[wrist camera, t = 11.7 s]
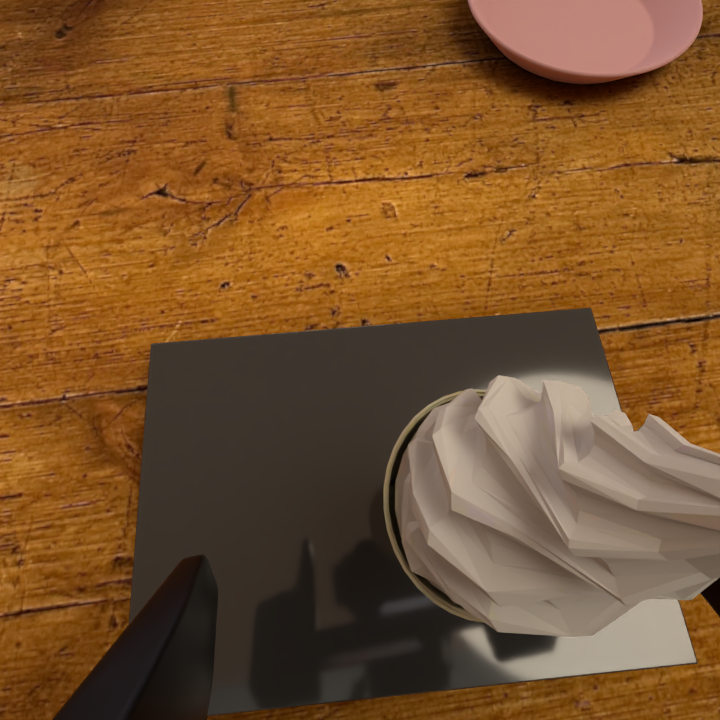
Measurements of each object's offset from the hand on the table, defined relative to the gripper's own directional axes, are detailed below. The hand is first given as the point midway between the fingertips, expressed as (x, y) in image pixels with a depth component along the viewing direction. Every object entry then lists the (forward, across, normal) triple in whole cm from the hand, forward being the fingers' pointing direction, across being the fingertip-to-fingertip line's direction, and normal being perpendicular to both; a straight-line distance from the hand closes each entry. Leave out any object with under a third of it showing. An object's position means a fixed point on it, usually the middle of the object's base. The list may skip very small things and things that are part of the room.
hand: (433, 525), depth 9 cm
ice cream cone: (+7, 0, +5) cm, 9 cm away
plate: (+27, -18, -13) cm, 35 cm away
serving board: (+8, 0, +6) cm, 10 cm away
